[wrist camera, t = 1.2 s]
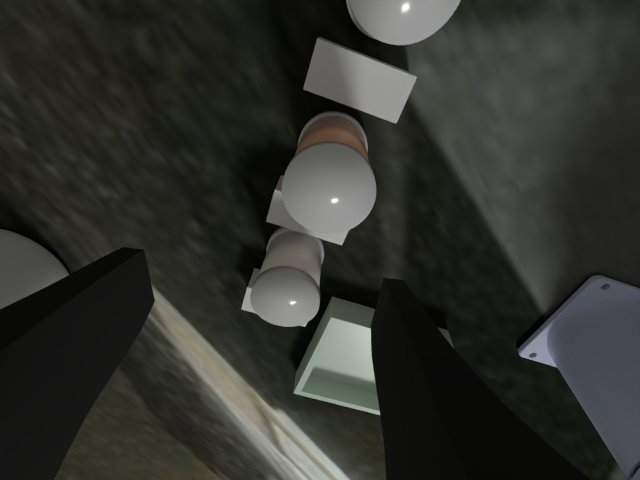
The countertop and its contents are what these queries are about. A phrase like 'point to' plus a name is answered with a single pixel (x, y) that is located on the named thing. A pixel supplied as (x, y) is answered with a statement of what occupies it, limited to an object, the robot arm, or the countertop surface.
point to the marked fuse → (330, 175)
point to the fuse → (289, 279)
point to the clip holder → (352, 90)
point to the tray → (342, 358)
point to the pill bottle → (25, 267)
